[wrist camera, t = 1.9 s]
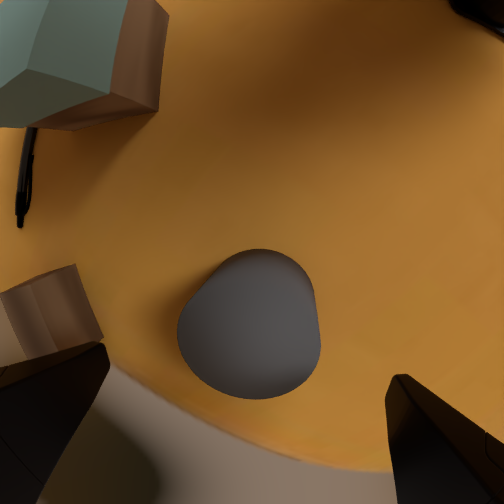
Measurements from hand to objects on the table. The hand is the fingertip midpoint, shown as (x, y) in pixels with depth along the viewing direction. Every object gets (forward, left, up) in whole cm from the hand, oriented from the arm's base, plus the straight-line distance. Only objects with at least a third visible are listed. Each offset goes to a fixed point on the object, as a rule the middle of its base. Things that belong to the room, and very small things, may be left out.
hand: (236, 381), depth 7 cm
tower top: (+8, -12, -2) cm, 14 cm away
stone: (0, 0, -6) cm, 6 cm away
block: (+13, +2, -6) cm, 15 cm away
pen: (+15, -10, -6) cm, 19 cm away
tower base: (+8, -12, -6) cm, 16 cm away
